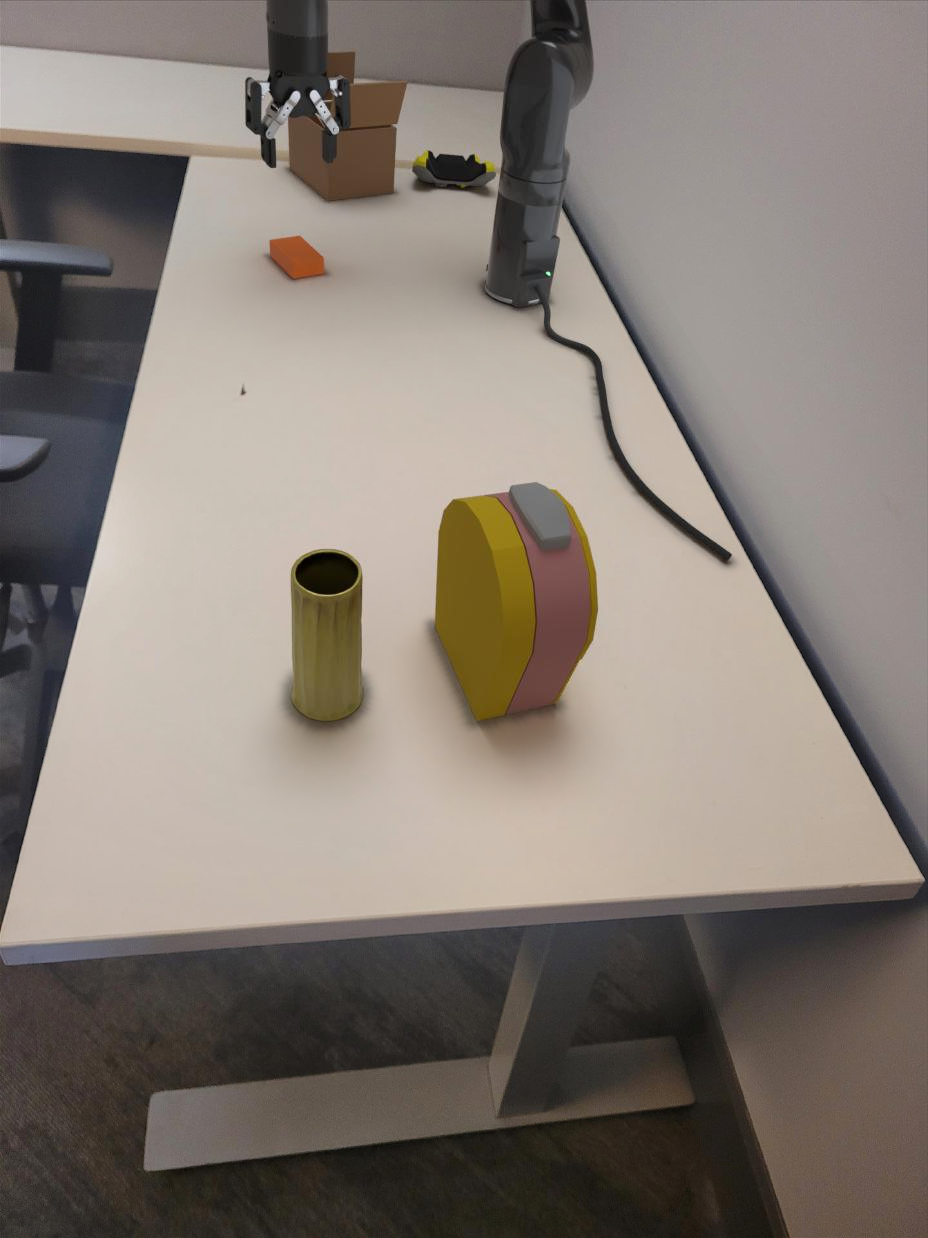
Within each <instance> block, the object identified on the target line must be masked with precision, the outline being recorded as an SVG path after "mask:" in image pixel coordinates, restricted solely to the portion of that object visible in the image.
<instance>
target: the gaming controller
mask: <svg viewBox="0 0 928 1238" xmlns="http://www.w3.org/2000/svg"><path fill="white" fill-rule="evenodd" d="M411 172H412V173H413V174H414V175H415V176H416V177H417V178H418V179H419V180H421V181H423V182H425V183H433V185H434V186H435V187H439V188H446V187H447V186H448V185H450V184H451V185H456V186H458V187H459V186H460V188H465V187H468V186H471V187H481V186H485V185H487V184H488V183H489V182H492V181H493V180H495V178H496V177H497V169H496V167H495V164H494V163H493V162H492V161H489V160H485V161H483V162H481V159H480V157H479V156H478V155H476V154H475V153H471V154H470V155H468V157H467V159H466V158H465V157H464V155H460V154H450V153H449V154H447V153H439V154H437V156H436V157H435V155H434V152H433V151H431V150H429V149H427V150H425V151H424V152H423V153H422V155H417V156H416V158H415V159H414V161H413V162H412V169H411Z"/></svg>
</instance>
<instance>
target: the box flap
mask: <svg viewBox="0 0 928 1238" xmlns="http://www.w3.org/2000/svg"><path fill="white" fill-rule="evenodd" d="M407 86H408V81H407V80H392V81H391V80H389V81H373V82H354V84H350V107H351V126H350V127H349V128H357V127H370V126H382V125H393V126H395V125H398V124H399V119H400V115H401V111H402V107H403V103H404V98H405V94H406V91H407ZM331 101H332V103H331V109H330V113H331V115H332V118H334V117H335V102H334V94H333V97H332V100H331ZM344 129H345V128H344Z"/></svg>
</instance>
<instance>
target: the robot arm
mask: <svg viewBox="0 0 928 1238" xmlns="http://www.w3.org/2000/svg"><path fill="white" fill-rule="evenodd" d="M265 1H266V2H265V6H266V7H265V8H266V12H265V21H266V31H267V60H268V69H269V71H268V77H267V79H266V80H264V79H263V80H261V79H260V80H259V79H257V80H256V79H255V78H253V77H252V76H248V77H246V78H245V81H244V89H245V90H244V114H245V115H244V117H245V118H244V119H245V121H244V123H245V124H244V125H245V127H246V128H247V129H248V130H249V131H251V133H253V134H254V135H255V136H256V135H259V139H260V140H259V141H260V157H261V160H262V161H263V162H264V163H265V164H266V166H267V167H269V168H270V169H276V168H277V145H276V144H277V142H276V141H277V140H276V138H275V136H276V134H277V132H278V130H279V129H280V128H281V126H283V125H284V124H285V123H286V121H287V120H288V116H290V117H291V118H298V117H300V116H305V117H313V115H314V114H316V116H317V117H318V118H319V120H320V121H321V123H322V124H323V126H324V127H325V130H322V158H323V160H324V161H325V162H326V163H333V158H336V155H337V134H338V132H339V131H340V130H342V129H344V128H345V129H348V128H349V127H350V126H351V107H350V82H349V81H348V80H347V79H346V78H344V77H343V76H341V75H340V74H336V75H335V76H334V77H333V78H328V76H327V69H328V52H329V1H328V0H265ZM587 7H588V6H587V0H529V9H530V10H529V11H530V12H529V13H530V31H531V32H530V35H531V36H530V37H531V38H527V39H526V40H524V41H523V42H522V43H521V44H519V45H518V47H517V48H516V49H515V50H514V52H513V53H512V56H511V57H510V60H509V63H508V65H507V69H506V70H507V71H506V75H505V81H504V88H503V96H502V107H501V108H502V109H501V117H500V118H501V119H500V127H499V128H500V130H499V144H500V149H501V156H502V157H501V166H500V173H499V180H498V186H497V187H498V188H497V195H496V203H495V210H494V218H493V225H492V234H491V241H490V248H489V256H488V263H486V268H485V271H486V279H485V281H484V291H485V292H486V293H487V294H488V296H489V297H491V298H493V299H495V300H496V301H499V302H502V303H505V304H508V305H511V306H513V307H515V308H517V309H519V308H524V307H529V306H532V305H537V304H541V305H542V308H543V328H544V330H545V332H546V333H547V335H548V336H549V337H550V338H551V339H552V340H554V341H555V342H557V343H559V344H562V345H564V346H567V347H569V348H572V349H575V350H578V351H581V352H583V353H584V354H586V355H588V356H589V358H591V360H592V362H593V364H594V367H595V374H596V377H595V378H596V382H597V387H598V392H599V402H600V408H601V413H602V419H603V424H604V428H605V432H606V436H607V440H608V442H609V445H610V447H611V449H612V451H613V453H614V455H615V458H616V459H617V461H618V463H619V465H620V466H621V468H622V469H623V471H624V473H625V474H626V475H627V477H628V478H629V479H630V480H631V482H632V483H633V484H634V486H636V488H637V489H638V490H639V491H640V492H641V493H642V494H643V495H644V497H646V498H647V499H648V500H649V501H650V502H651V504H653V505H654V506H655V507H656V508H657V509H658V510H660V511H661V512H662V513H663V514H664V515H666V516H667V517H668V518H669V519H670V520H672V521H673V523H675V524H676V525H678V526H679V527H680V528H681V529H683V530H684V532H687V533H688V534H689V535H690V536H691V537H693V538H695V539H696V540H697V541H699V542H700V543H701V544H703V545H704V546H706V547H707V548H708V549H710V550H711V551H713V552H714V553H715V554H717V555H718V556H719V557H721V558H722V559H724V560H725V561H729V560H730V559H731V558H732V556H733V554H732V553H731V552H730V551H729V550H727V549H726V548H724V547H723V546H721V545H720V544H718V543H717V542H715V541H714V540H713V539H711V538H710V537H709V536H707V535H706V534H704V533H703V532H701V531H700V530H699V529H698V528H696V527H695V526H693V525H692V524H691V523H690V522H688V521H687V520H686V519H685V518H683V517H682V516H681V515H679V513H677V512H676V511H675V510H673V508H671V507H670V506H669V505H667V504H666V503H665V502H664V501H663V500H662V499H661V498H659V497H658V495H656V494H655V492H653V490H651V489H650V488H649V487H648V486H647V485H646V483H645V482H644V481H643V480H642V479H641V477H640V476H639V475H638V474H637V472H636V471H635V470H634V469H633V467H632V466H631V464H630V463H629V461H628V459H627V458H626V455H625V454H624V452H623V450H622V448H621V446H620V444H619V441H618V439H617V437H616V434H615V430H614V426H613V423H612V417H611V413H610V408H609V403H608V396H607V388H606V383H605V378H604V371H603V363H602V361H601V358H600V356H599V355H598V353H597V352H595V351H594V350H593V349H592V348H591V347H589V346H588V345H586V344H584V343H581V342H579V341H576V340H571V339H568V338H565V337H563V336H562V335H559V334H558V333H556V331H554V329H553V328H552V326H551V315H552V314H551V308H550V307H551V306H550V304H549V301H550V296H551V292H552V285H553V281H554V275H555V269H556V265H557V259H558V253H559V248H560V245H561V244H560V243H561V238H560V236H558V228H559V223H560V218H561V211H562V207H563V201H564V196H565V191H566V186H567V181H568V175H569V170H570V165H571V154H570V152H569V150H568V149H567V148H566V146H565V145H566V137H567V129H568V124H569V123H568V122H569V116H570V111H571V110H573V109H574V108H576V107H577V106H578V105H580V104H581V103H582V102H583V101H584V99H585V98H586V96H587V95H588V93H589V92H590V89H591V86H592V83H593V78H594V73H595V60H594V58H595V57H594V50H593V42H592V35H591V27H590V21H589V15H588V8H587ZM330 88H331V92H332V94H334V102H335V117H334V118H332V115H331V113H330V111H329V110H328V108H327V107H326V105H325V104H324V102H325V101H324V99H325V97H326V96H327V94H328V92H329V90H330ZM267 93H269V95H270V97H272V98H271V100H270V101H269V103H268V105H267V107H266V109H265V114H264V116H263V118H262V109H263V108H262V105H263V102H262V101H264V100H265V98H266V94H267Z"/></svg>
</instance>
